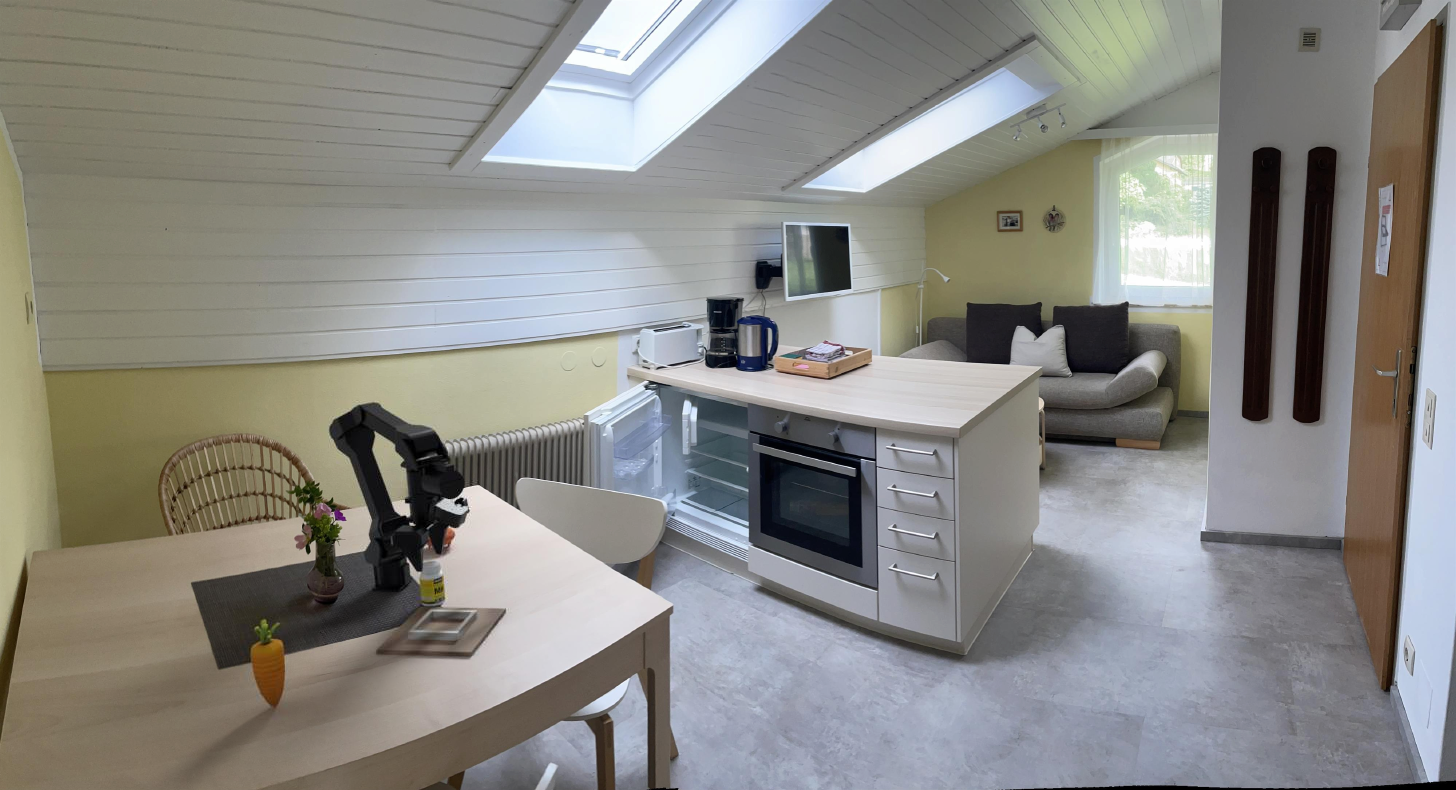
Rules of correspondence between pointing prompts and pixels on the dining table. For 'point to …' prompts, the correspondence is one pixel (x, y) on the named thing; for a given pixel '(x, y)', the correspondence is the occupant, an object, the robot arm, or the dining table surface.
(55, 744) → the dining table surface
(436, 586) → the supplement bottle
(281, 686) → the carrot
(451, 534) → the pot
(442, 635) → the board
